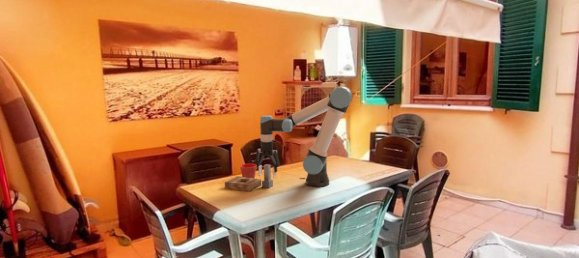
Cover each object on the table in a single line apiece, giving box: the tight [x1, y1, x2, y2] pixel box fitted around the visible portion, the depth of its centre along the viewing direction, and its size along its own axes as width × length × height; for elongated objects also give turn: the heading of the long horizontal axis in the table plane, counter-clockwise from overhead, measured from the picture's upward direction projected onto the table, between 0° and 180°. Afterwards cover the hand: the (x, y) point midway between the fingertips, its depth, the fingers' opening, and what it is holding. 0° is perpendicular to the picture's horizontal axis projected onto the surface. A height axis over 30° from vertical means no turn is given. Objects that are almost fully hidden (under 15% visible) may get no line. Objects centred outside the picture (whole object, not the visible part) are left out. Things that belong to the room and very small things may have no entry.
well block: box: [224, 176, 262, 192], centre depth 215 cm, size 18×14×4 cm
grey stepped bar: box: [261, 163, 274, 189], centre depth 214 cm, size 5×5×14 cm
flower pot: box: [239, 163, 257, 179], centre depth 232 cm, size 11×11×10 cm
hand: (267, 176), depth 214 cm, fingers open, 9 cm apart
